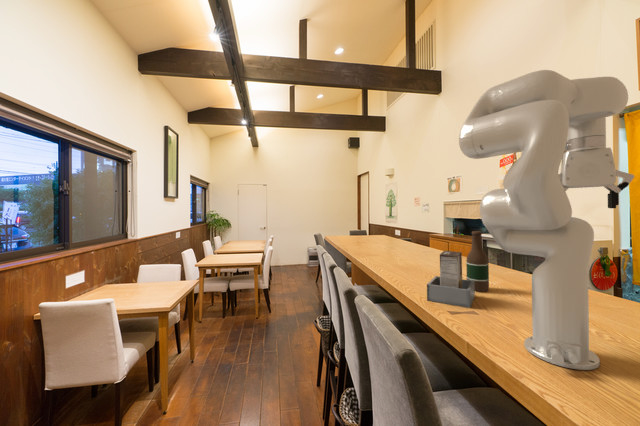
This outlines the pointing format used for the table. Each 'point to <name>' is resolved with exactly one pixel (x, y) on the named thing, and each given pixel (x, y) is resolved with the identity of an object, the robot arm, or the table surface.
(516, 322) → the table surface
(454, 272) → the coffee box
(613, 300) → the table surface
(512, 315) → the table surface
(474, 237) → the beer bottle
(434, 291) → the bin
